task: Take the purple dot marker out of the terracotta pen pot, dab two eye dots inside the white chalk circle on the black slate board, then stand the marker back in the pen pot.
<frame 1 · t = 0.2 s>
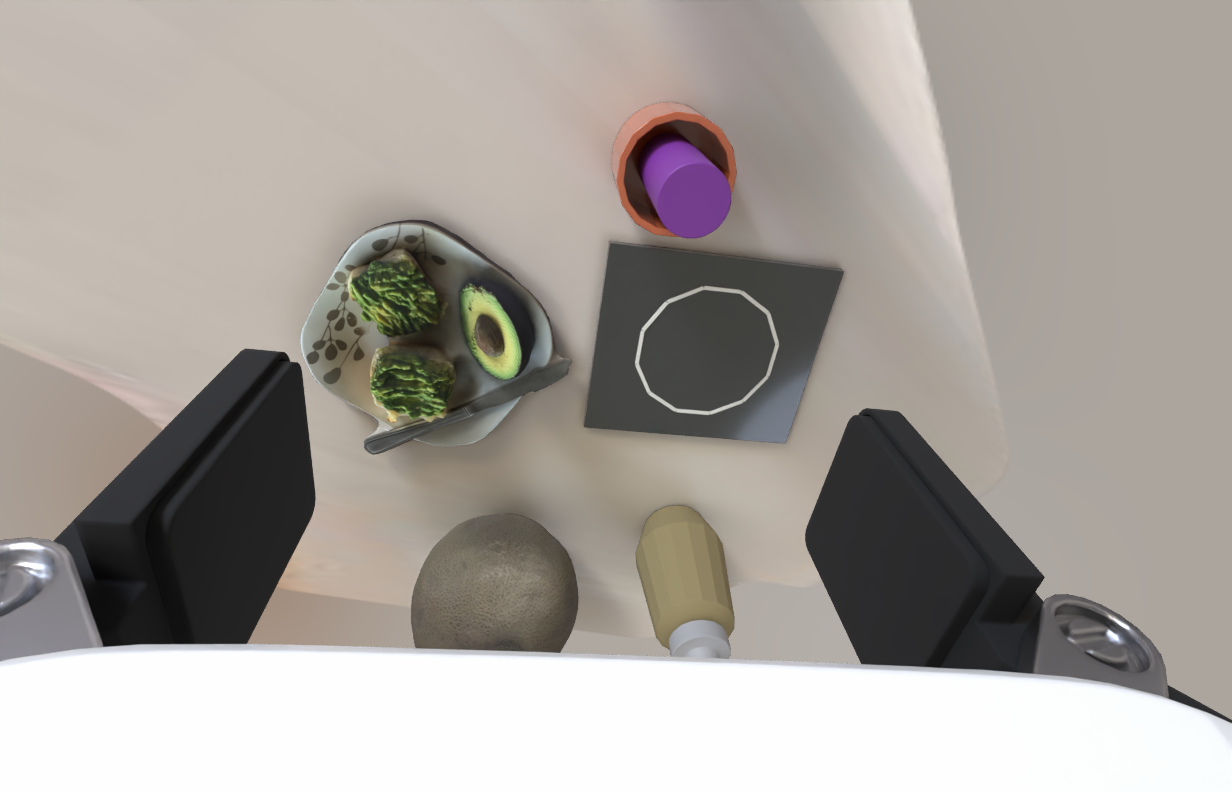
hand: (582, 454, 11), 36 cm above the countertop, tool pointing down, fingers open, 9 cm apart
salad plate: (440, 334, 49), on the countertop
slate board: (705, 350, 51), on the countertop
squeeze bottle: (672, 525, 61), on the countertop
pen pot: (664, 160, 43), on the countertop
cantaloupe: (504, 531, 60), on the countertop
dot marker: (665, 161, 43), resting on pen pot
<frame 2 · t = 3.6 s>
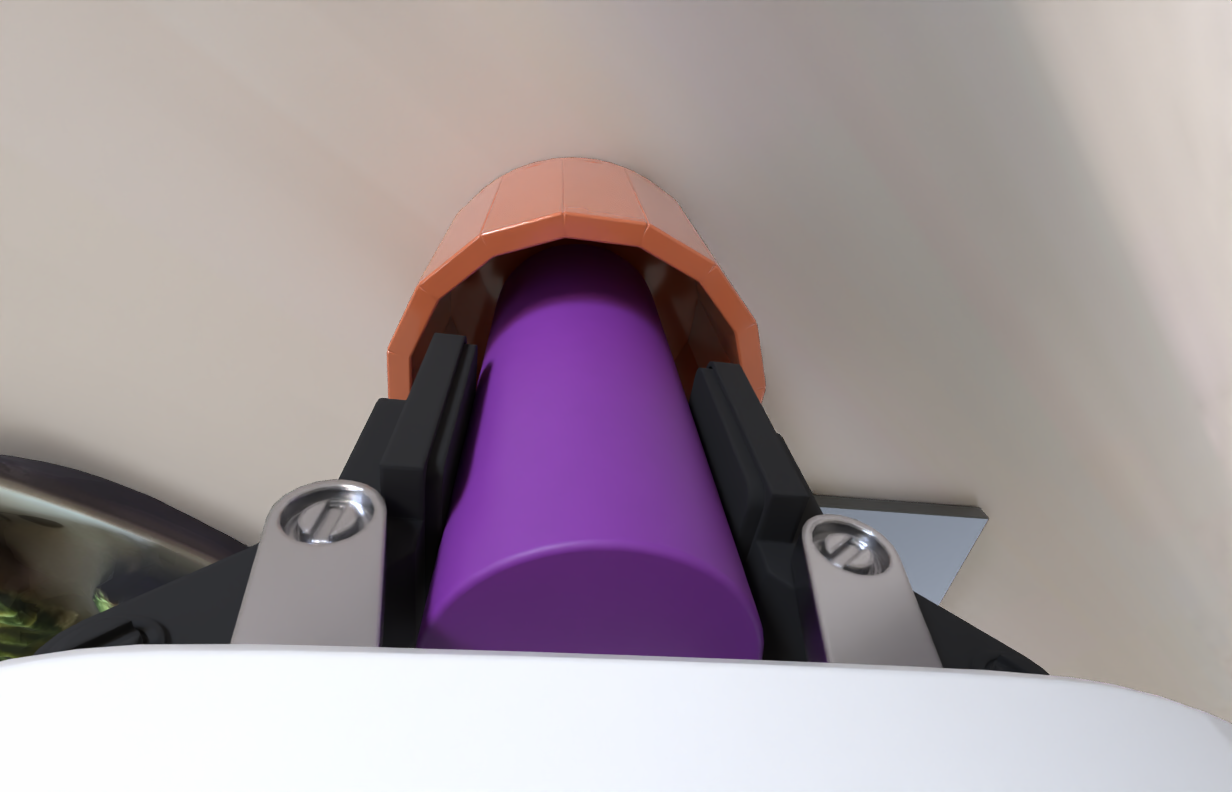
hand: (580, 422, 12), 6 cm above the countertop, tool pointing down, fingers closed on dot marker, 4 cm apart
salad plate: (109, 640, 23), on the countertop
slate board: (685, 648, 25), on the countertop
pen pot: (575, 298, 17), on the countertop
dot marker: (575, 305, 17), point 1 cm above the countertop, touching gripper, pen pot
when the fingers open (6 cm above the countertop, at t = 17.3 s): dot marker stays where it is, resting on pen pot.
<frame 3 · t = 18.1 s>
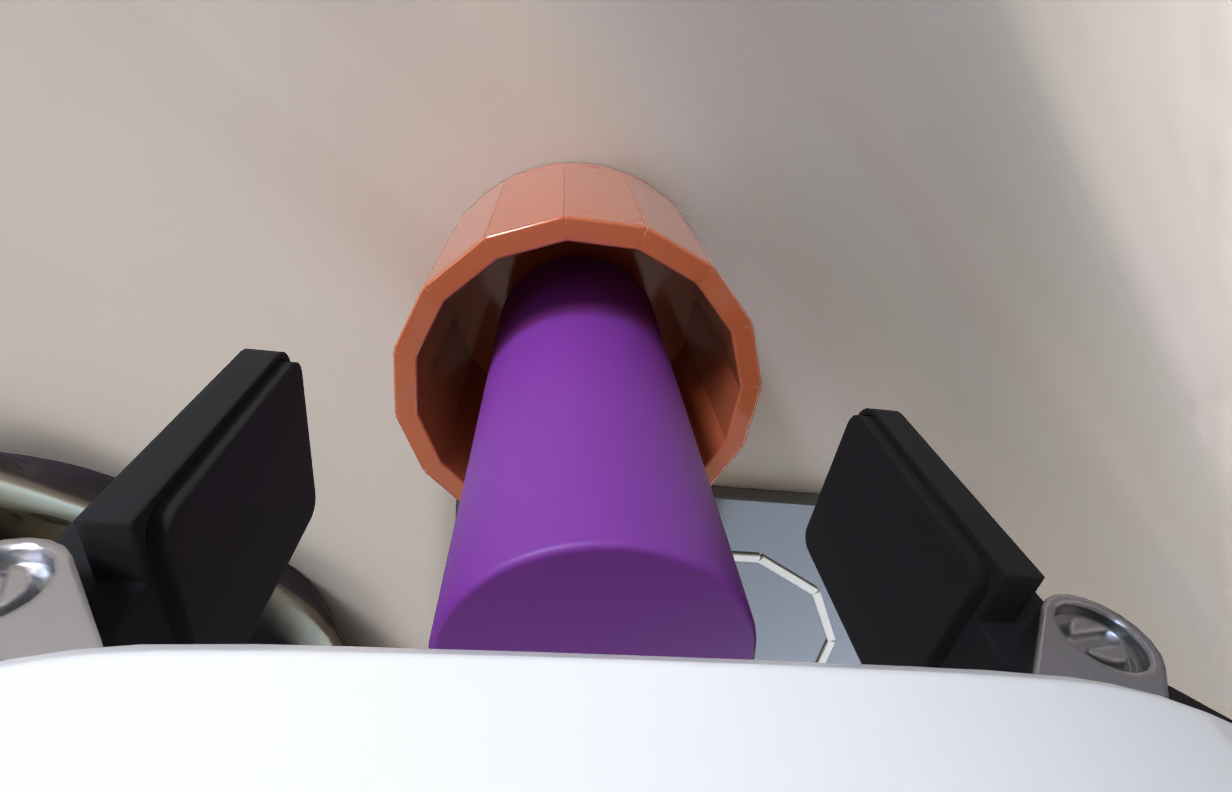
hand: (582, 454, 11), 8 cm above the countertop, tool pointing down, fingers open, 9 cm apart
salad plate: (116, 637, 23), on the countertop
slate board: (684, 646, 25), on the countertop
pen pot: (575, 300, 17), on the countertop
dot marker: (577, 315, 17), resting on pen pot
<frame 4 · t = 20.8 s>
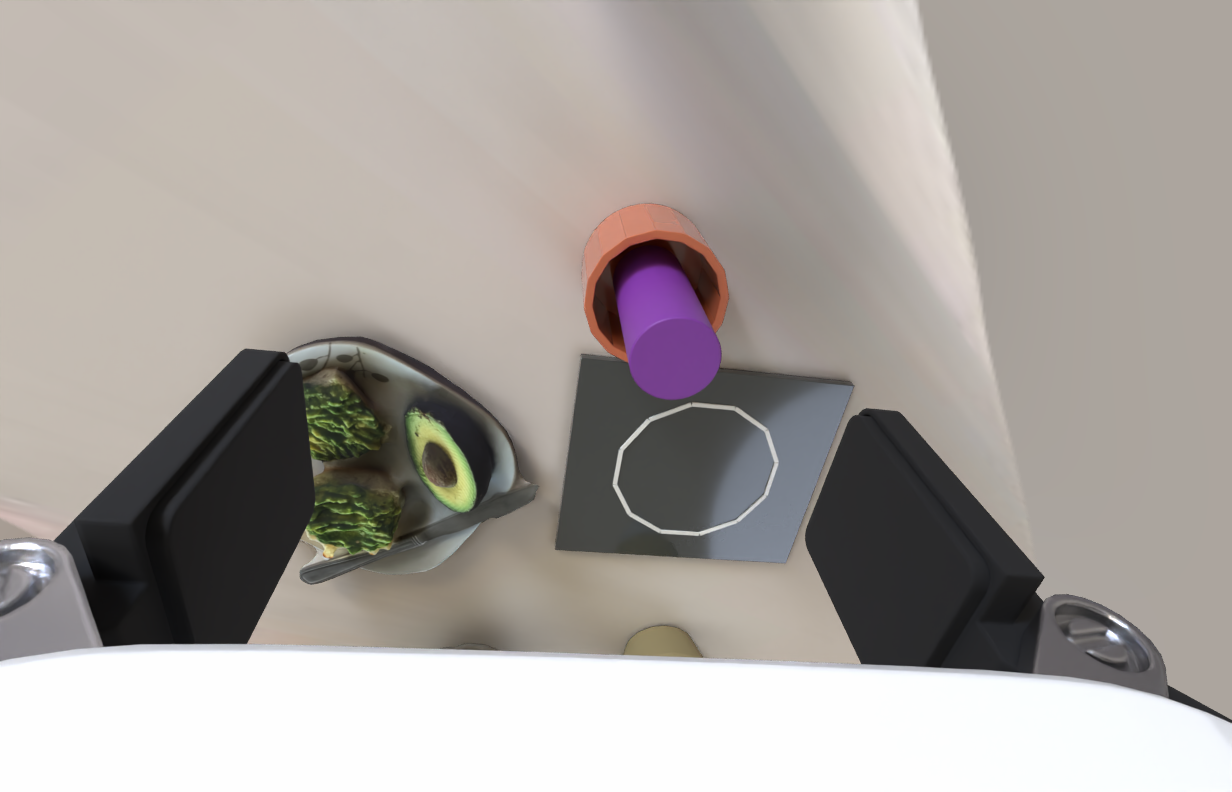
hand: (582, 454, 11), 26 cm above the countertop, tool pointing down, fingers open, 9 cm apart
salad plate: (386, 454, 42), on the countertop
slate board: (694, 467, 44), on the countertop
squeeze bottle: (658, 644, 54), on the countertop
pen pot: (644, 267, 37), on the countertop
dot marker: (646, 273, 36), resting on pen pot
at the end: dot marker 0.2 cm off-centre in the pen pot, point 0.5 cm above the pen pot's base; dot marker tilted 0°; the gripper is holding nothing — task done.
